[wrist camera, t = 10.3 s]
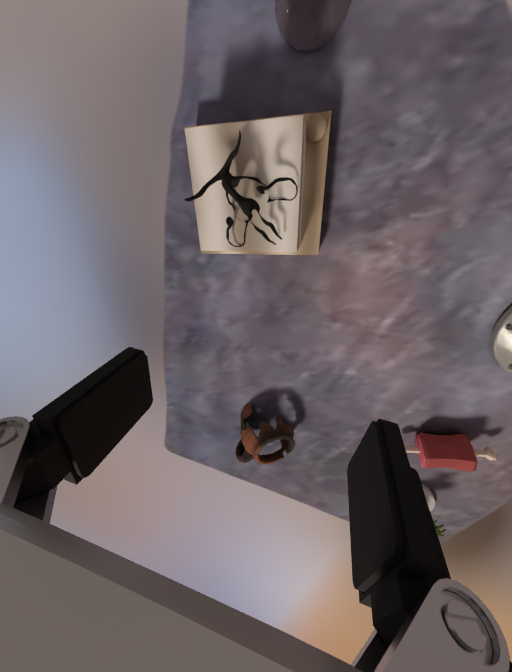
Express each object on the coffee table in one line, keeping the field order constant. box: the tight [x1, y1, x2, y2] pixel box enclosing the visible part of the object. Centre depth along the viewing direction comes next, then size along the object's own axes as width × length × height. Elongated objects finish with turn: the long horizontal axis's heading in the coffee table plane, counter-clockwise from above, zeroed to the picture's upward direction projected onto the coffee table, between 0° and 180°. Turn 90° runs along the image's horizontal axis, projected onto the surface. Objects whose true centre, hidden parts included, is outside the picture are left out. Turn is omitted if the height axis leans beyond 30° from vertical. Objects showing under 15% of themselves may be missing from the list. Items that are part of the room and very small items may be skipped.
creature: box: [185, 130, 297, 247], centre depth 20 cm, size 8×5×8 cm
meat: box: [404, 432, 496, 471], centre depth 36 cm, size 12×5×5 cm, turn 103°
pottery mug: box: [236, 404, 295, 464], centre depth 44 cm, size 12×10×8 cm
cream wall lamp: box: [185, 111, 331, 255], centre depth 25 cm, size 14×12×7 cm
